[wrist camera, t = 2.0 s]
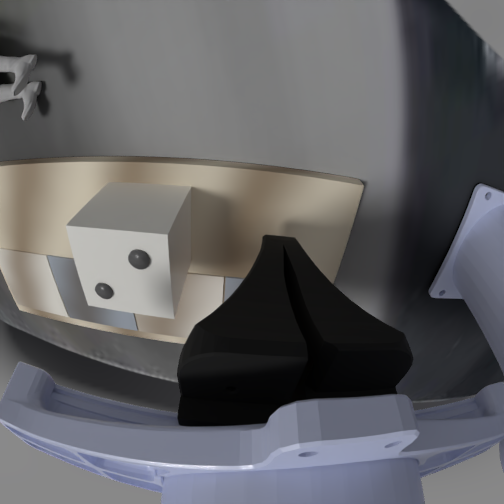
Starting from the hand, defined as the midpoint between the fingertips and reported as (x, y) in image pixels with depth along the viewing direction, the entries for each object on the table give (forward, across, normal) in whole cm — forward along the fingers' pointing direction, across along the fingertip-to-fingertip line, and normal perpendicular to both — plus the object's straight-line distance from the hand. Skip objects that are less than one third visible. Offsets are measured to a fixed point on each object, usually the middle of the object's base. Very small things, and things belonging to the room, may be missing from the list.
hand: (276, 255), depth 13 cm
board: (+3, +8, +3) cm, 9 cm away
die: (+2, +6, 0) cm, 6 cm away
